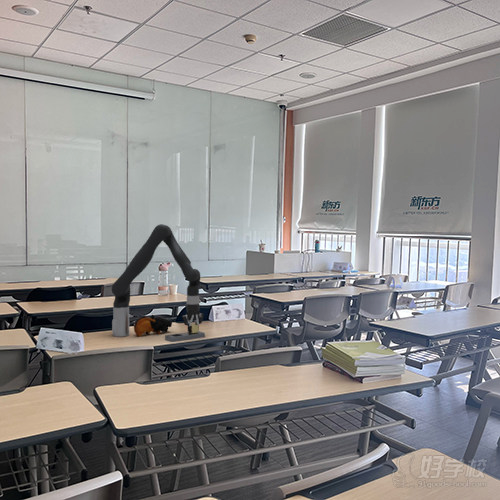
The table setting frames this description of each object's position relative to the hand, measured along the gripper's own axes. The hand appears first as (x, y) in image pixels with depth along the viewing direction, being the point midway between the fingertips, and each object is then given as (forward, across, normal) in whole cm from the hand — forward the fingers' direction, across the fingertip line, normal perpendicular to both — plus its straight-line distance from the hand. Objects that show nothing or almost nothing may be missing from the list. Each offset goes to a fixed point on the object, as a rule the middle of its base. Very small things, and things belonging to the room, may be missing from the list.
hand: (193, 331), depth 292 cm
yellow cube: (0, 0, 0) cm, 0 cm away
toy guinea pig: (+4, +15, -22) cm, 27 cm away
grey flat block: (+3, +6, 0) cm, 6 cm away
